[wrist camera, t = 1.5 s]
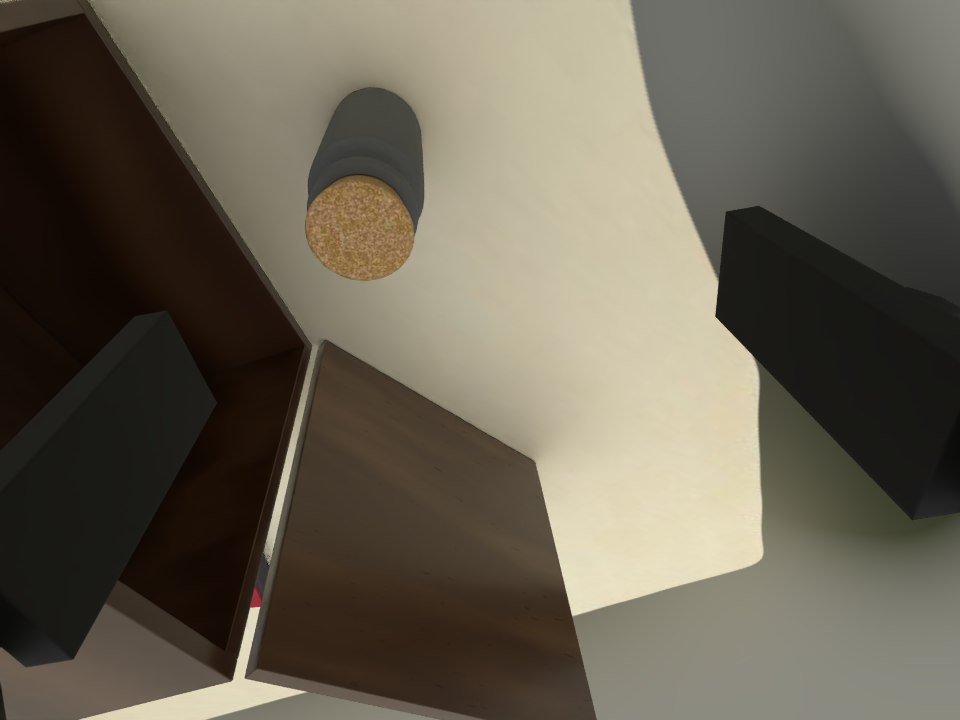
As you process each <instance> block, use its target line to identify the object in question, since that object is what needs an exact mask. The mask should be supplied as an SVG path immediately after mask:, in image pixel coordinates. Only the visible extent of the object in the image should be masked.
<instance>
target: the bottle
mask: <svg viewBox="0 0 960 720" xmlns="http://www.w3.org/2000/svg"><path fill="white" fill-rule="evenodd" d="M308 195H309V197H308V202H307V216H306V222H305V230H306V237H307V240H308V243H309V246H310V248H311V250H312V251H313V253H314V255H315V256H316V257H317V259H318V260H319V261H320V262H321V263H322V264H323V265H324V266H325V267H327V268H328V269H330V270H331V271H333V272H334V273H336V274H338V275H340V276H343V277H346V278H349V279H353V280H364V281H367V280H375V279H380V278H383V277H385V276H388V275H390V274H392V273H393V272H395V271H396V270H397V269H399V268H400V267H401V266H402V265H403V264H404V263H405V261H406V260H407V258H408V257H409V255H410V253H411V251H412V247H413V243H414V236H415V233H416V229H417V224H418V219H419V217H420V215H421V213H422V209H423V203H424V172H423V153H422V140H421V131H420V127H419V123H418V120H417V118H416V116H415V114H414V112H413V110H412V109H411V108H410V107H409V105H408V104H407V103H406V102H405V101H404V100H403V99H402V98H400V97H399V96H398V95H396V94H394V93H392V92H390V91H387V90H385V89H380V88H364V89H361V90H358V91H355V92H353V93H351V94H350V95H348V96H347V97H346V98H345V99H344V100H343V101H342V102H341V103H340V104H339V105H338V107H337V109H336V110H335V112H334V114H333V116H332V119H331V121H330V123H329V125H328V128H327V130H326V132H325V135H324V137H323V139H322V142H321V144H320V147H319V149H318V151H317V154H316V156H315V158H314V161H313V164H312V166H311V169H310V173H309V178H308Z"/></svg>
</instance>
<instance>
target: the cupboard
mask: <svg viewBox="0 0 960 720" xmlns="http://www.w3.org/2000/svg"><path fill="white" fill-rule="evenodd" d="M162 311H168V313H169V315H170V317H171V319H172V321H173V322H174V324H175V326H176V328H177V330H178V332H179V334H180V335H181V337H182V339H183V341H184V343H185V345H186V347H187V348H188V350H189V352H190V354H191V356H192V358H193V360H194V361H195V363H196V365H197V367H198V369H199V371H200V373H201V374H202V376H203V378H204V380H205V382H206V384H207V386H208V387H209V389H210V391H211V393H212V395H213V397H214V399H215V401H216V402H217V404H216V406H215V407H214V409H213V411H212V413H211V415H210V416H209V418H208V420H207V422H206V424H205V425H204V427H203V429H202V431H201V432H200V434H199V436H198V438H197V440H196V441H195V443H194V445H193V447H192V449H191V450H190V452H189V454H188V456H187V458H186V459H185V461H184V463H183V465H182V466H181V468H180V470H179V472H178V474H177V475H176V477H175V479H174V481H173V483H172V484H171V486H170V488H169V490H168V491H167V493H166V495H165V497H164V499H163V500H162V502H161V504H160V506H159V508H158V509H157V511H156V513H155V515H154V517H153V518H152V520H151V522H150V524H149V525H148V527H147V529H146V531H145V533H144V534H143V536H142V538H141V540H140V542H139V543H138V545H137V547H136V549H135V551H134V552H133V554H132V556H131V558H130V559H129V561H128V563H127V565H126V567H125V568H124V570H123V572H122V574H121V576H120V577H119V579H118V581H117V583H116V585H115V586H114V588H113V590H112V592H111V593H110V595H109V597H108V599H107V601H106V602H105V604H104V606H103V608H102V610H101V611H100V613H99V615H98V617H97V618H96V620H95V622H94V624H93V626H92V627H91V629H90V631H89V633H88V635H87V636H86V638H85V640H84V642H83V644H82V645H81V647H80V649H79V651H78V652H77V654H76V656H75V658H74V660H68V661H62V662H56V663H50V664H44V665H38V666H32V667H25V666H23V665H22V664H21V663H20V662H19V661H17V660H16V659H15V658H14V657H13V656H11V655H10V654H9V653H8V652H7V651H5V650H4V649H3V648H2V647H1V648H0V683H1V688H2V694H3V700H4V707H5V713H6V720H79V719H83V718H87V717H91V716H95V715H99V714H103V713H107V712H111V711H115V710H119V709H123V708H127V707H131V706H135V705H139V704H143V703H147V702H151V701H155V700H159V699H163V698H167V697H171V696H175V695H179V694H183V693H187V692H191V691H195V690H199V689H203V688H207V687H211V686H215V685H219V684H223V683H227V682H231V681H232V680H233V676H234V672H235V668H236V664H237V658H238V656H239V652H240V648H241V644H242V640H243V635H244V631H245V627H246V623H247V619H248V614H249V610H250V606H251V602H252V598H253V593H254V589H255V585H256V581H257V577H258V573H259V568H260V564H261V560H262V556H263V552H264V547H265V543H266V539H267V535H268V531H269V526H270V522H271V518H272V514H273V510H274V505H275V501H276V497H277V493H278V489H279V485H280V480H281V476H282V472H283V468H284V464H285V459H286V455H287V451H288V447H289V443H290V438H291V434H292V430H293V426H294V422H295V417H296V413H297V409H298V405H299V401H300V397H301V392H302V388H303V384H304V380H305V376H306V371H307V367H308V363H309V359H310V355H311V354H310V353H311V350H312V345H311V344H310V342H309V341H308V339H307V338H306V336H305V335H304V333H303V332H302V330H301V329H300V327H299V325H298V324H297V322H296V321H295V319H294V318H293V316H292V315H291V313H290V312H289V310H288V309H287V307H286V306H285V304H284V302H283V301H282V299H281V298H280V296H279V295H278V293H277V292H276V290H275V289H274V287H273V286H272V284H271V283H270V281H269V279H268V278H267V276H266V275H265V273H264V272H263V270H262V269H261V267H260V266H259V264H258V263H257V261H256V259H255V258H254V256H253V255H252V253H251V252H250V250H249V249H248V247H247V246H246V244H245V243H244V241H243V240H242V238H241V236H240V235H239V233H238V232H237V230H236V229H235V227H234V226H233V224H232V223H231V221H230V220H229V218H228V217H227V215H226V213H225V212H224V210H223V209H222V207H221V206H220V204H219V203H218V201H217V200H216V198H215V197H214V195H213V194H212V192H211V190H210V189H209V187H208V186H207V184H206V183H205V181H204V180H203V178H202V177H201V175H200V174H199V172H198V170H197V169H196V167H195V166H194V164H193V163H192V161H191V160H190V158H189V157H188V155H187V154H186V152H185V151H184V149H183V147H182V146H181V144H180V143H179V141H178V140H177V138H176V137H175V135H174V134H173V132H172V131H171V129H170V128H169V126H168V124H167V123H166V121H165V120H164V118H163V117H162V115H161V114H160V112H159V111H158V109H157V108H156V106H155V105H154V103H153V101H152V100H151V98H150V97H149V95H148V94H147V92H146V91H145V89H144V88H143V86H142V85H141V83H140V81H139V80H138V78H137V77H136V75H135V74H134V72H133V71H132V69H131V68H130V66H129V65H128V63H127V62H126V60H125V58H124V57H123V55H122V54H121V52H120V51H119V49H118V48H117V46H116V45H115V43H114V42H113V40H112V39H111V37H110V35H109V34H108V32H107V31H106V29H105V28H104V26H103V25H102V23H101V22H100V20H99V19H98V17H97V15H96V14H95V12H94V11H93V9H92V8H91V6H90V5H89V3H88V2H87V0H17V1H11V2H5V3H0V451H1V450H2V449H3V448H4V447H5V446H6V445H7V444H8V443H9V442H10V441H11V440H12V439H13V438H14V437H15V436H16V435H17V434H18V433H19V432H20V431H21V430H22V429H23V428H24V427H25V426H26V425H27V424H28V423H29V422H30V421H31V420H32V419H33V418H34V417H35V416H36V415H37V414H38V413H39V412H40V411H41V410H42V409H43V408H44V407H45V406H46V405H47V404H48V403H49V402H50V401H51V400H52V399H53V398H54V397H55V396H56V395H57V394H58V393H59V392H60V391H61V390H62V389H63V388H64V387H65V386H66V385H67V384H68V383H69V382H70V381H71V380H72V379H73V378H74V377H75V376H76V375H77V374H78V373H79V372H80V371H81V370H82V369H83V368H84V367H85V366H86V365H87V364H88V363H89V362H90V361H91V360H92V359H93V358H94V357H95V356H96V355H97V354H98V353H99V352H100V351H101V350H102V349H103V348H104V347H105V346H106V345H107V344H108V343H109V342H110V341H111V340H112V339H113V338H114V337H115V336H116V335H117V334H118V333H119V332H120V331H121V330H122V329H123V328H124V327H125V326H126V325H127V324H128V323H129V322H130V321H131V320H132V319H133V318H134V317H135V316H139V315H145V314H151V313H156V312H162Z"/></svg>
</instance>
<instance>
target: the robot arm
mask: <svg viewBox="0 0 960 720" xmlns="http://www.w3.org/2000/svg"><path fill="white" fill-rule="evenodd" d="M715 317H716V318H717V319H718V320H719V321H720V322H721V323H722V324H723V325H724V326H725V327H726V328H727V329H728V330H729V331H730V332H731V333H732V334H733V335H734V336H735V337H736V338H737V339H738V340H739V342H740V343H741V344H742V345H743V346H744V347H745V348H746V349H747V350H748V351H749V352H750V353H751V354H752V355H753V356H754V357H755V358H756V359H757V360H758V361H759V362H760V363H761V364H762V365H763V366H764V367H765V368H766V369H767V370H768V371H769V373H771V375H772V376H774V378H775V379H776V380H777V381H778V382H779V383H780V384H781V385H782V386H783V387H784V388H785V389H786V390H787V391H788V392H789V393H790V394H791V395H792V396H793V397H794V398H795V399H796V400H797V401H798V403H799V404H800V405H801V406H802V407H803V408H804V409H805V410H806V411H807V412H809V414H810V415H811V416H812V417H813V418H814V419H815V420H816V421H817V422H818V423H819V424H820V425H821V426H822V427H823V428H824V429H825V430H826V431H827V433H829V435H830V436H831V437H832V438H833V439H834V440H835V441H836V442H837V443H838V444H839V445H840V446H841V447H842V448H843V449H844V450H845V451H846V452H847V453H848V454H849V455H850V456H851V457H852V458H853V459H854V460H855V461H856V462H857V464H859V466H860V467H861V468H862V469H863V470H864V471H865V472H866V473H867V474H868V475H869V476H870V477H871V478H872V479H873V480H874V481H875V482H876V483H877V484H878V485H879V486H880V487H881V488H882V489H883V490H884V491H885V492H886V493H887V495H888V496H889V497H890V498H891V499H892V500H893V501H894V502H895V503H896V504H897V505H898V506H899V507H900V508H901V509H902V510H903V511H904V512H905V513H906V514H907V515H908V516H909V517H910V518H911V519H912V520H916V519H922V518H928V517H934V516H940V515H946V514H952V513H958V512H960V307H959V306H957V305H955V304H953V303H951V302H949V301H947V300H946V299H944V298H942V297H939V296H935V295H932V294H928V293H925V292H922V291H919V290H915V289H912V288H909V287H903V286H901V285H899V284H898V283H896V282H894V281H892V280H890V279H889V278H887V277H885V276H883V275H882V274H880V273H878V272H876V271H874V270H873V269H871V268H869V267H867V266H866V265H864V264H862V263H860V262H858V261H857V260H855V259H853V258H851V257H850V256H848V255H846V254H844V253H842V252H840V251H839V250H837V249H835V248H833V247H832V246H830V245H828V244H826V243H825V242H823V241H821V240H819V239H817V238H816V237H814V236H812V235H810V234H808V233H807V232H805V231H803V230H801V229H800V228H798V227H796V226H794V225H792V224H791V223H789V222H787V221H785V220H783V219H782V218H780V217H778V216H776V215H775V214H773V213H771V212H769V211H767V210H765V209H764V208H762V207H760V206H755V207H750V208H744V209H738V210H733V211H727V212H726V216H725V225H724V235H723V245H722V255H721V265H720V275H719V285H718V295H717V305H716V315H715ZM216 404H217V402H216V401H215V399H214V397H213V395H212V393H211V391H210V389H209V387H208V386H207V384H206V382H205V380H204V378H203V376H202V374H201V373H200V371H199V369H198V367H197V365H196V363H195V361H194V360H193V358H192V356H191V354H190V352H189V350H188V348H187V347H186V345H185V343H184V341H183V339H182V337H181V335H180V334H179V332H178V330H177V328H176V326H175V324H174V322H173V321H172V319H171V317H170V315H169V313H168V311H162V312H156V313H151V314H145V315H139V316H135V317H134V318H133V319H132V320H131V321H130V322H129V323H128V324H127V325H126V326H125V327H124V328H123V329H122V330H121V331H120V332H119V333H118V334H117V335H116V336H115V337H114V338H113V339H112V340H111V341H110V342H109V343H108V344H107V345H106V346H105V347H104V348H103V349H102V350H101V351H100V352H99V353H98V354H97V355H96V356H95V357H94V358H93V359H92V360H91V361H90V362H89V363H88V364H87V365H86V366H85V367H84V368H83V369H82V370H81V371H80V372H79V373H78V374H77V375H76V376H75V377H74V378H73V379H72V380H71V381H70V382H69V383H68V384H67V385H66V386H65V387H64V388H63V389H62V390H61V391H60V392H59V393H58V394H57V395H56V396H55V397H54V398H53V399H52V400H51V401H50V402H49V403H48V404H47V405H46V406H45V407H44V408H43V409H42V410H41V411H40V412H39V413H38V414H37V415H36V416H35V417H34V418H33V419H32V420H31V421H30V422H29V423H28V424H27V425H26V426H25V427H24V428H23V429H22V430H21V431H20V432H19V433H18V434H17V435H16V436H15V437H14V438H13V439H12V440H11V441H10V442H9V443H8V444H7V445H6V446H5V447H4V448H3V449H2V450H1V451H0V648H1V647H2V648H3V649H4V650H5V651H7V652H8V653H9V654H10V655H11V656H13V657H14V658H15V659H16V660H17V661H19V662H20V663H21V664H22V665H23V666H25V667H32V666H38V665H44V664H50V663H56V662H62V661H68V660H74V658H75V656H76V654H77V652H78V651H79V649H80V647H81V645H82V644H83V642H84V640H85V638H86V636H87V635H88V633H89V631H90V629H91V627H92V626H93V624H94V622H95V620H96V618H97V617H98V615H99V613H100V611H101V610H102V608H103V606H104V604H105V602H106V601H107V599H108V597H109V595H110V593H111V592H112V590H113V588H114V586H115V585H116V583H117V581H118V579H119V577H120V576H121V574H122V572H123V570H124V568H125V567H126V565H127V563H128V561H129V559H130V558H131V556H132V554H133V552H134V551H135V549H136V547H137V545H138V543H139V542H140V540H141V538H142V536H143V534H144V533H145V531H146V529H147V527H148V525H149V524H150V522H151V520H152V518H153V517H154V515H155V513H156V511H157V509H158V508H159V506H160V504H161V502H162V500H163V499H164V497H165V495H166V493H167V491H168V490H169V488H170V486H171V484H172V483H173V481H174V479H175V477H176V475H177V474H178V472H179V470H180V468H181V466H182V465H183V463H184V461H185V459H186V458H187V456H188V454H189V452H190V450H191V449H192V447H193V445H194V443H195V441H196V440H197V438H198V436H199V434H200V432H201V431H202V429H203V427H204V425H205V424H206V422H207V420H208V418H209V416H210V415H211V413H212V411H213V409H214V407H215V406H216ZM0 720H6V713H5V707H4V700H3V694H2V688H1V683H0Z"/></svg>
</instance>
